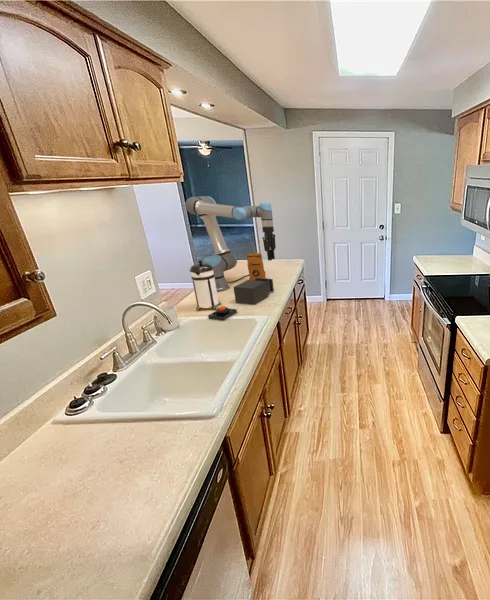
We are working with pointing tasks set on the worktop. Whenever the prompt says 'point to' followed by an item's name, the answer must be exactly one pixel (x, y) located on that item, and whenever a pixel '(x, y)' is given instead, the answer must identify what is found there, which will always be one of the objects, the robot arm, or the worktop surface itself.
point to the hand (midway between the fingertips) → (271, 259)
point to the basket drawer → (269, 284)
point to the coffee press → (204, 285)
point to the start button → (221, 308)
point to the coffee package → (255, 266)
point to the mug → (173, 316)
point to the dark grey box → (250, 292)
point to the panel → (222, 314)
